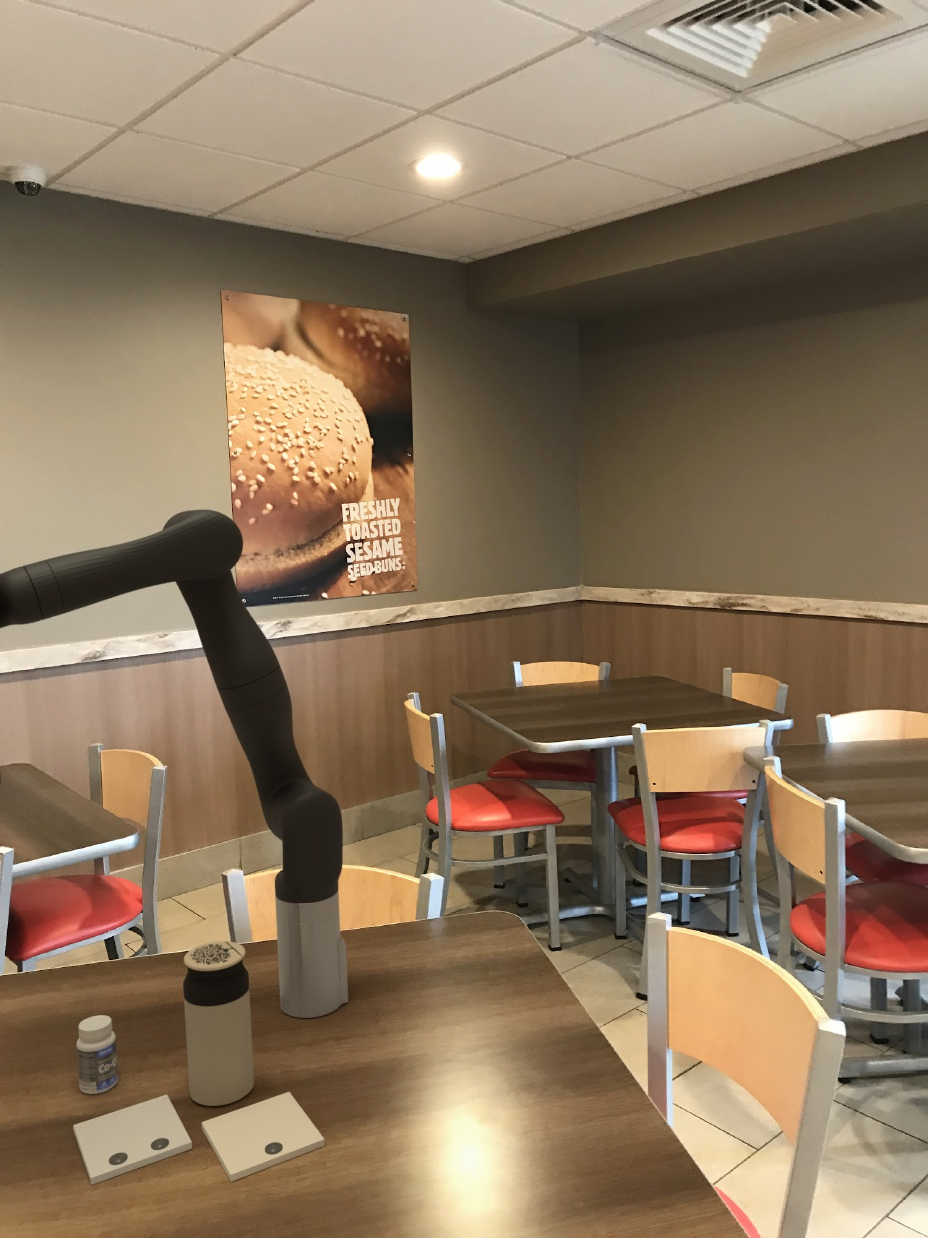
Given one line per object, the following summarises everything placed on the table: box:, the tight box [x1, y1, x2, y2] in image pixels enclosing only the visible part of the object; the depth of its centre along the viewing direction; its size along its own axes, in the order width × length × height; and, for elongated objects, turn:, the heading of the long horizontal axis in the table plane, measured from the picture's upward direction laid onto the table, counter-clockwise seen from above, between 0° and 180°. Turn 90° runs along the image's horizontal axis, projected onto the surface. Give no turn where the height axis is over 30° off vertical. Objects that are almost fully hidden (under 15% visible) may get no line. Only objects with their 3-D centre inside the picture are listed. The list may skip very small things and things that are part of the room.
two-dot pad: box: [72, 1094, 193, 1186], centre depth 112 cm, size 11×11×1 cm
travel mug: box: [182, 940, 255, 1107], centre depth 121 cm, size 8×8×18 cm
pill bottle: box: [76, 1014, 119, 1095], centre depth 123 cm, size 5×5×8 cm
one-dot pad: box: [201, 1091, 325, 1183], centre depth 112 cm, size 11×11×1 cm
